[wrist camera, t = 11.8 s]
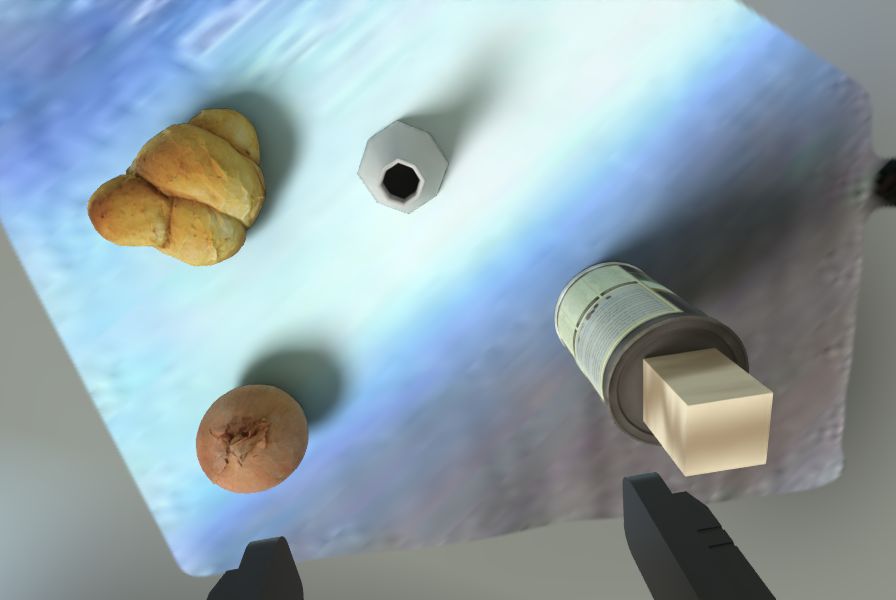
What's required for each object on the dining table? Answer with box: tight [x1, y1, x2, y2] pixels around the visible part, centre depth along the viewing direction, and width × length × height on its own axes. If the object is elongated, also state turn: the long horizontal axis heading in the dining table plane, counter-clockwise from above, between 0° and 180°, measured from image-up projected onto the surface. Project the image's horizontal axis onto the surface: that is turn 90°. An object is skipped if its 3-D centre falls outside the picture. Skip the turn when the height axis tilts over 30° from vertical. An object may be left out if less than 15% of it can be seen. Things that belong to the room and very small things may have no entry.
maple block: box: [643, 348, 773, 476], centre depth 33 cm, size 5×5×6 cm
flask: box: [357, 121, 448, 214], centre depth 38 cm, size 7×7×10 cm
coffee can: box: [554, 262, 749, 446], centre depth 42 cm, size 10×10×14 cm
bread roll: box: [87, 108, 266, 266], centre depth 39 cm, size 13×10×8 cm
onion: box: [196, 384, 308, 493], centre depth 46 cm, size 10×9×10 cm
